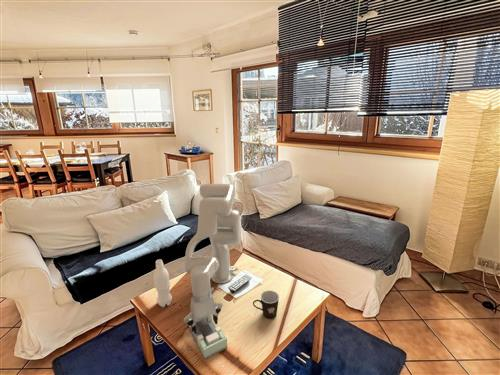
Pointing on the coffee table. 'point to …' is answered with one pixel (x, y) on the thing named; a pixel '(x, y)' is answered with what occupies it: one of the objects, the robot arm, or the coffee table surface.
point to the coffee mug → (269, 304)
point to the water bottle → (162, 284)
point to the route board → (201, 340)
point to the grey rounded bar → (208, 332)
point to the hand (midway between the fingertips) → (205, 326)
